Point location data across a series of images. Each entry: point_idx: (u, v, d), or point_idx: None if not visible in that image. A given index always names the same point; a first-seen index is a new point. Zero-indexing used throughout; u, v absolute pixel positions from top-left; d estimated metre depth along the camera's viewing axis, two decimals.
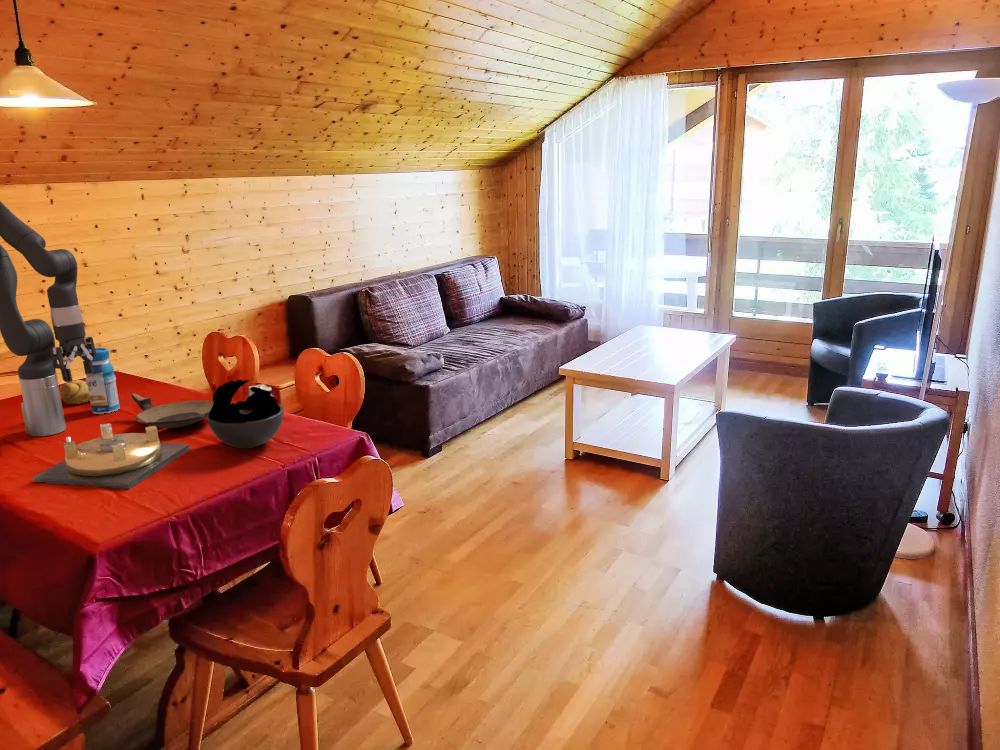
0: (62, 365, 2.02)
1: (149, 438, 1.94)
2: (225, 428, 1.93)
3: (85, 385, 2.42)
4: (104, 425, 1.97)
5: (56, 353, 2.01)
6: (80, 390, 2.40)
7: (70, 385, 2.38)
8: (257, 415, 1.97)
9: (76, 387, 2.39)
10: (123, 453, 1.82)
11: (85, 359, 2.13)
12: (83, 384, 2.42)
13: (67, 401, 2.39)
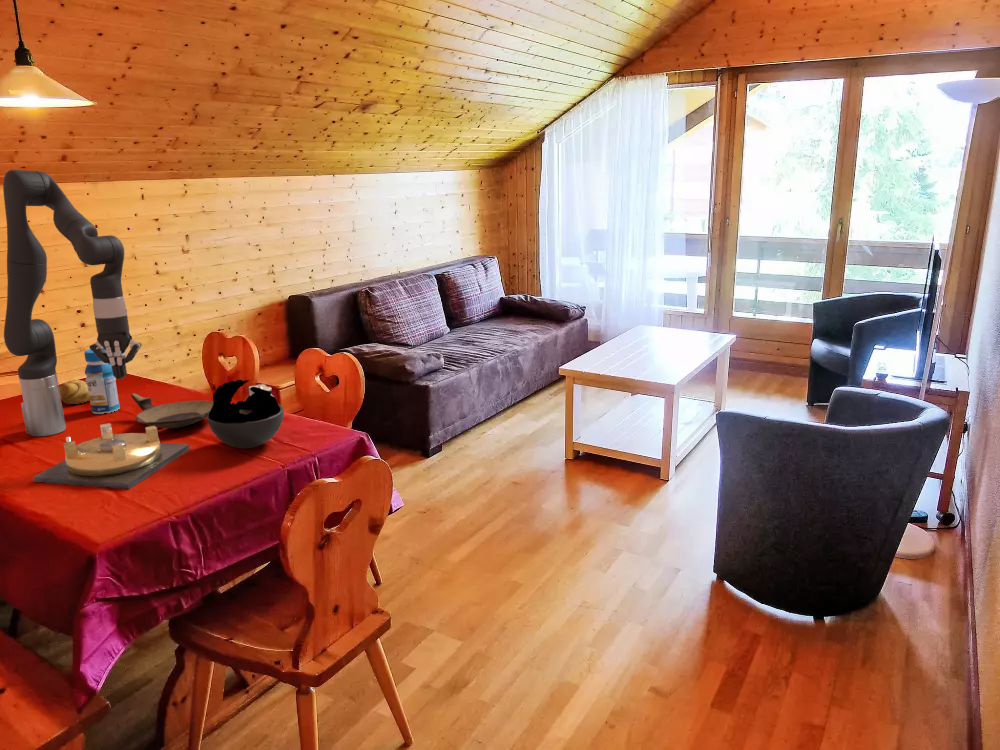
0: None
1: (149, 438, 1.94)
2: (225, 428, 1.93)
3: (84, 385, 2.42)
4: (104, 425, 1.97)
5: (137, 349, 1.94)
6: (79, 390, 2.40)
7: (69, 385, 2.38)
8: (257, 415, 1.97)
9: (75, 387, 2.40)
10: (123, 453, 1.82)
11: (116, 363, 1.94)
12: (82, 384, 2.42)
13: (66, 401, 2.40)
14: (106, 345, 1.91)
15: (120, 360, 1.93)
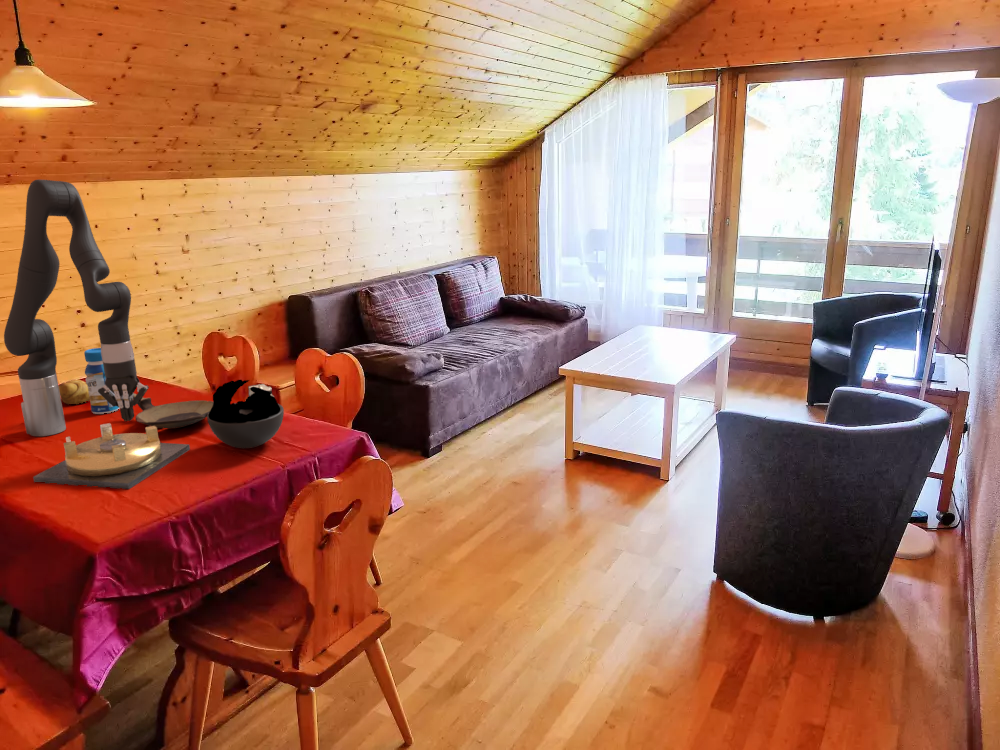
0: None
1: (149, 438, 1.94)
2: (224, 428, 1.93)
3: (83, 385, 2.42)
4: (104, 425, 1.97)
5: (145, 392, 1.97)
6: (78, 390, 2.40)
7: (68, 385, 2.38)
8: (257, 415, 1.97)
9: (74, 387, 2.40)
10: (123, 453, 1.82)
11: None
12: (82, 384, 2.42)
13: (65, 401, 2.40)
14: (114, 389, 1.94)
15: (128, 403, 1.96)
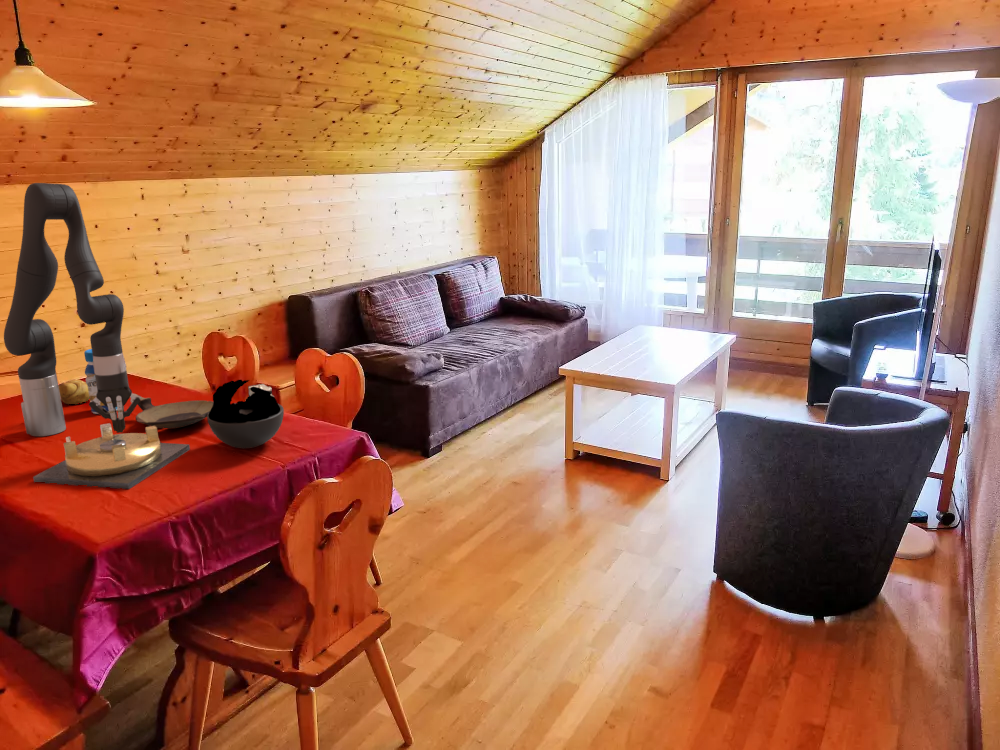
0: None
1: (149, 438, 1.94)
2: (224, 428, 1.93)
3: (83, 385, 2.42)
4: (104, 425, 1.97)
5: None
6: (78, 390, 2.40)
7: (68, 385, 2.38)
8: (257, 415, 1.97)
9: (74, 387, 2.40)
10: (123, 453, 1.82)
11: (116, 417, 1.98)
12: (81, 384, 2.42)
13: (65, 401, 2.40)
14: (108, 401, 1.94)
15: (121, 414, 1.97)
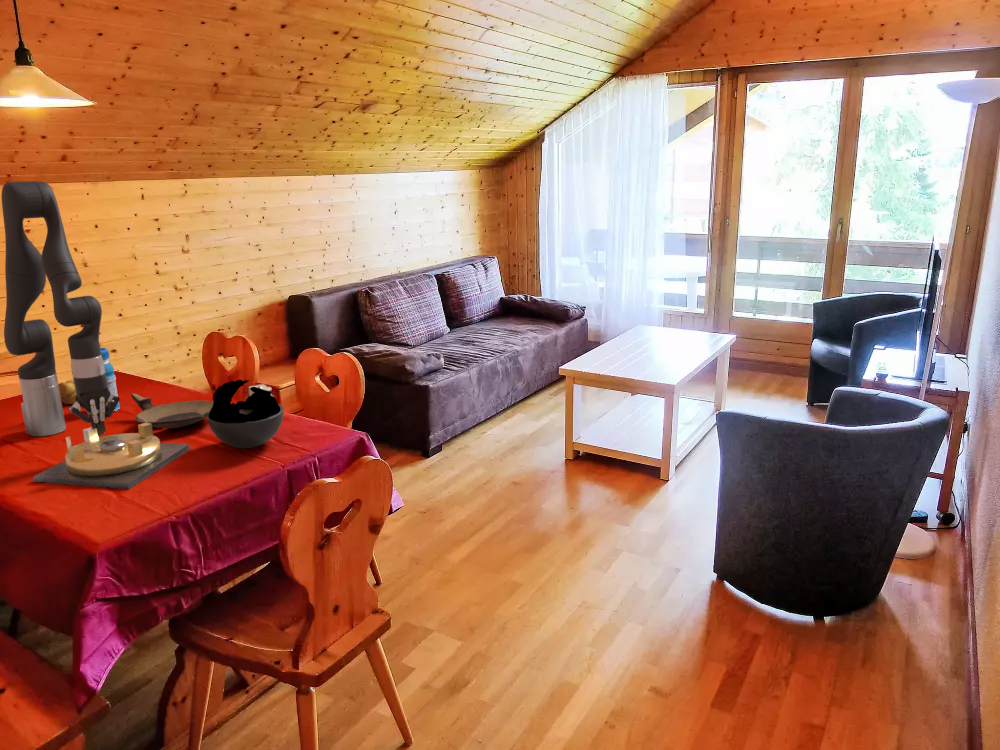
0: None
1: (145, 434, 1.97)
2: (225, 428, 1.93)
3: None
4: (88, 429, 1.94)
5: None
6: None
7: (67, 385, 2.38)
8: (257, 415, 1.97)
9: (73, 387, 2.40)
10: (141, 448, 1.85)
11: None
12: None
13: (64, 400, 2.40)
14: (92, 404, 1.92)
15: (103, 416, 1.95)
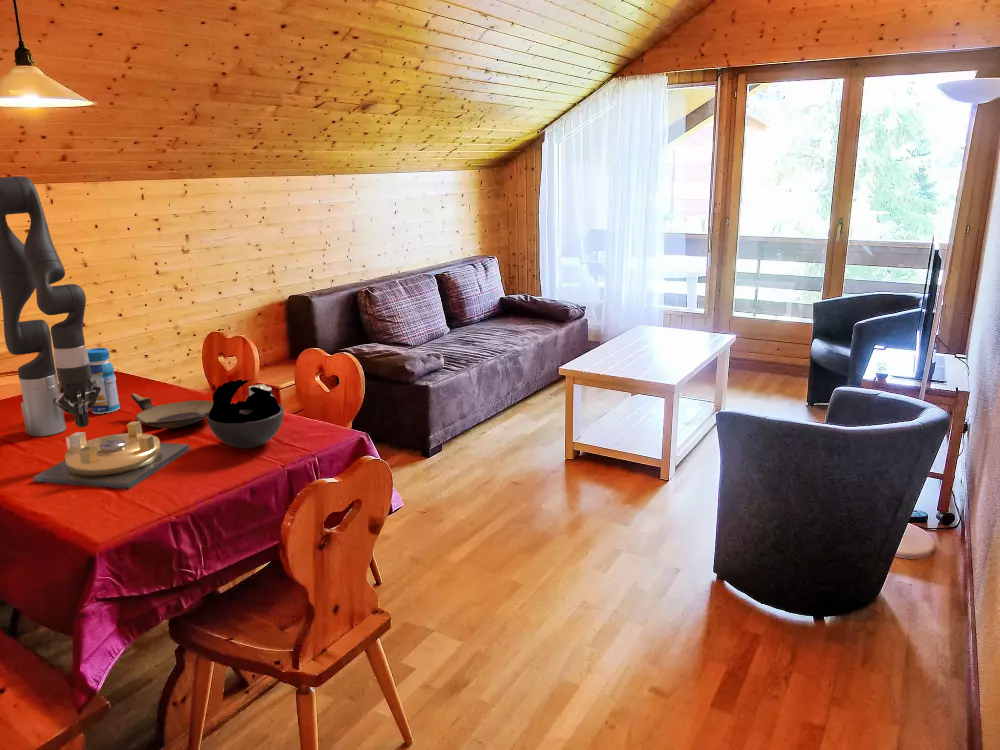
0: None
1: (137, 432, 1.98)
2: (225, 428, 1.93)
3: None
4: (77, 434, 1.90)
5: None
6: None
7: None
8: (257, 415, 1.97)
9: None
10: (152, 442, 1.89)
11: None
12: None
13: None
14: (78, 394, 1.88)
15: (87, 406, 1.92)
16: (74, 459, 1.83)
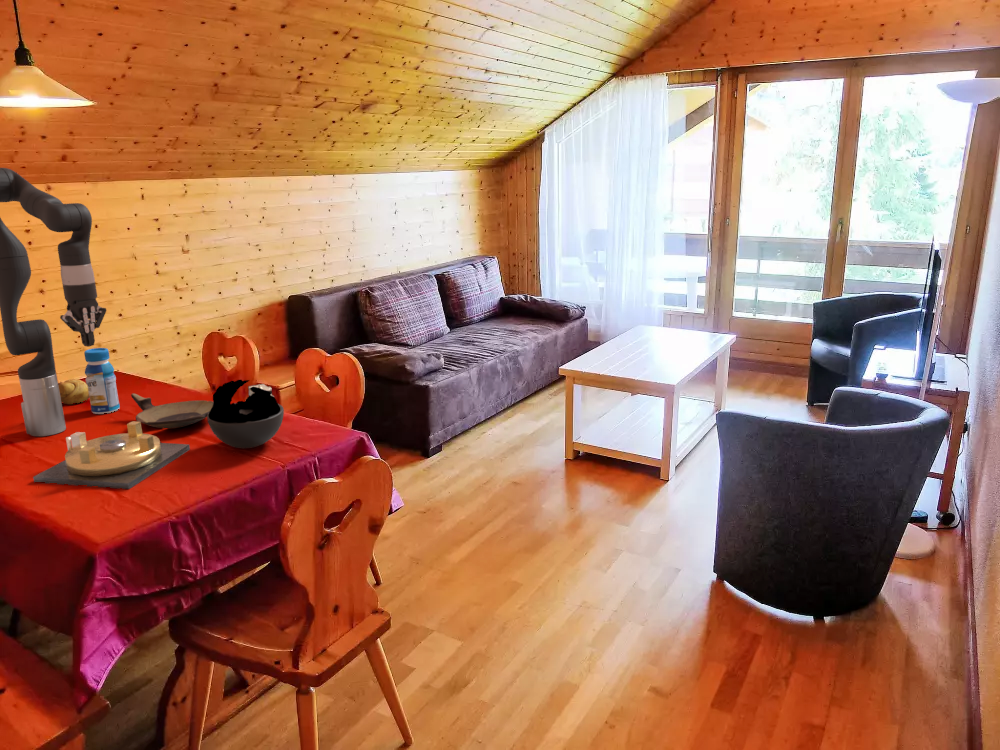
0: None
1: (137, 432, 1.98)
2: (225, 428, 1.93)
3: (81, 385, 2.43)
4: (77, 434, 1.90)
5: None
6: (75, 390, 2.40)
7: (65, 384, 2.38)
8: (257, 415, 1.97)
9: (71, 387, 2.40)
10: (152, 442, 1.89)
11: None
12: (79, 384, 2.43)
13: (63, 400, 2.40)
14: (84, 312, 1.92)
15: (93, 326, 1.96)
16: (74, 459, 1.83)
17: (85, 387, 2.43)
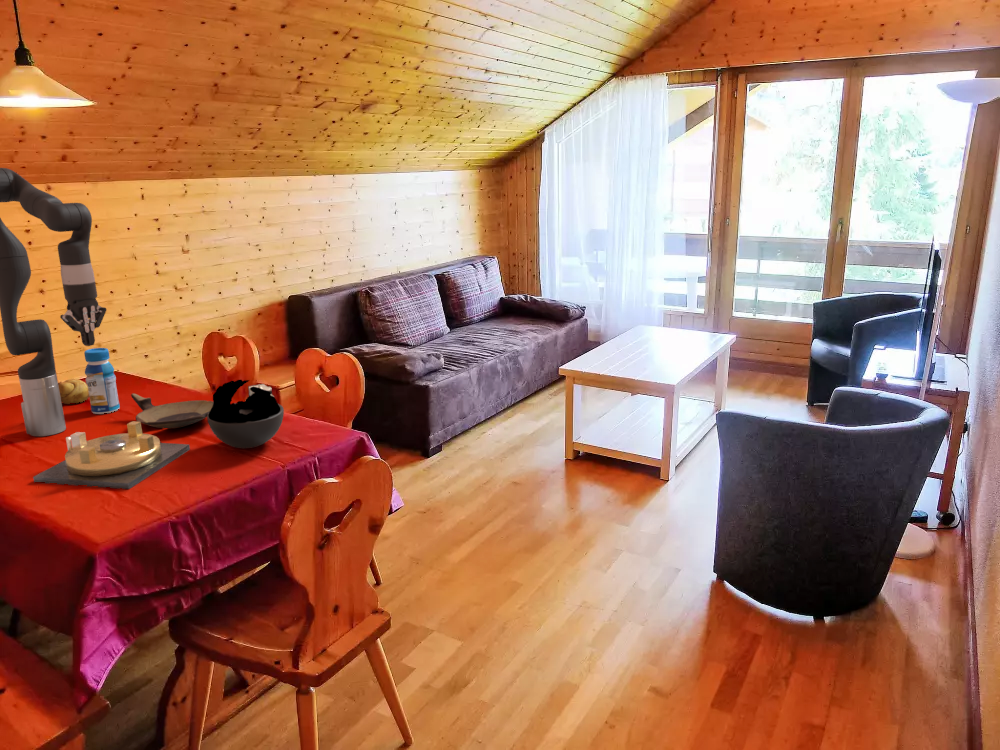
0: None
1: (137, 432, 1.98)
2: (225, 428, 1.93)
3: (80, 385, 2.43)
4: (77, 434, 1.90)
5: None
6: (75, 390, 2.41)
7: (65, 384, 2.39)
8: (257, 415, 1.97)
9: (71, 386, 2.40)
10: (152, 442, 1.89)
11: None
12: (79, 384, 2.43)
13: (62, 400, 2.40)
14: (84, 312, 1.93)
15: (93, 325, 1.96)
16: (74, 459, 1.83)
17: (85, 387, 2.43)
